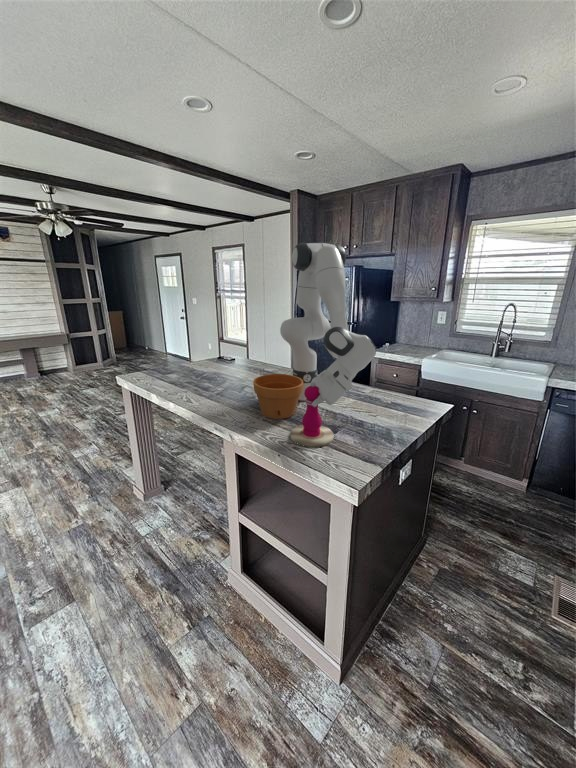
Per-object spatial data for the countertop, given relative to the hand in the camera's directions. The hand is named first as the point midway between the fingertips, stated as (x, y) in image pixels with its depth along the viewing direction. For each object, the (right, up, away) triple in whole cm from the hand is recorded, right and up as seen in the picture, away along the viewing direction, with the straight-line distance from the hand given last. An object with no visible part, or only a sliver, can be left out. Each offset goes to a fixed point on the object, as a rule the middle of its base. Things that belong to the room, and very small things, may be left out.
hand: (310, 401), depth 115 cm
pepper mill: (+1, -12, +4) cm, 13 cm away
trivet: (+1, -13, +4) cm, 14 cm away
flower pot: (-12, -6, +26) cm, 29 cm away
